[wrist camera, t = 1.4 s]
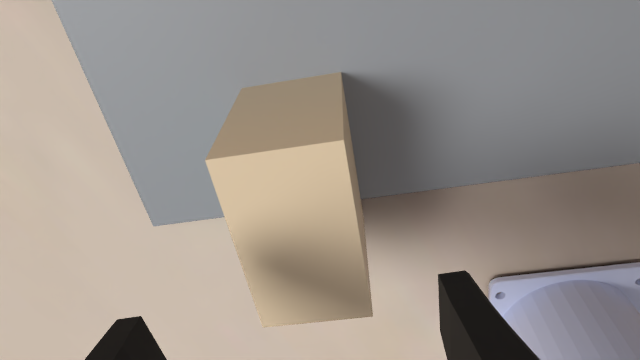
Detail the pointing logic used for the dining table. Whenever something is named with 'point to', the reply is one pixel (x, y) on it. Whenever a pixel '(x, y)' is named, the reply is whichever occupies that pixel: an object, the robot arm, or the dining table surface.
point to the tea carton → (294, 201)
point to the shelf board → (367, 85)
